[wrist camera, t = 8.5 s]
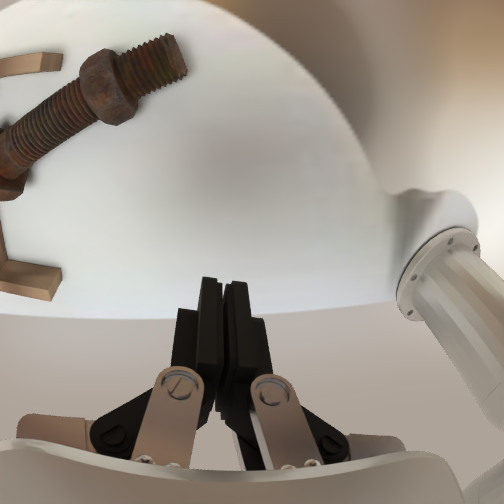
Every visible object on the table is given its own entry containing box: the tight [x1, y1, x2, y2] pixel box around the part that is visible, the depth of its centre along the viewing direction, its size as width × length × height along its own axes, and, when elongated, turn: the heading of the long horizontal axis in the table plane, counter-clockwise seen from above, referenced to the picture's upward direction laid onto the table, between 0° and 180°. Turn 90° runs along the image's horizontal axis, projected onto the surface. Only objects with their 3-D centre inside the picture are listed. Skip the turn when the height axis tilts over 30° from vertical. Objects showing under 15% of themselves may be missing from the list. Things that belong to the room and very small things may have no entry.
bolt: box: [0, 33, 187, 201], centre depth 14 cm, size 6×5×15 cm
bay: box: [0, 52, 63, 302], centre depth 15 cm, size 7×18×3 cm, turn 166°
